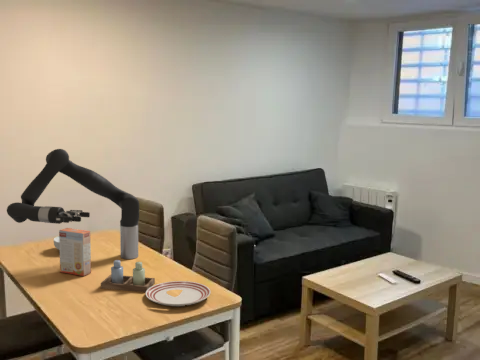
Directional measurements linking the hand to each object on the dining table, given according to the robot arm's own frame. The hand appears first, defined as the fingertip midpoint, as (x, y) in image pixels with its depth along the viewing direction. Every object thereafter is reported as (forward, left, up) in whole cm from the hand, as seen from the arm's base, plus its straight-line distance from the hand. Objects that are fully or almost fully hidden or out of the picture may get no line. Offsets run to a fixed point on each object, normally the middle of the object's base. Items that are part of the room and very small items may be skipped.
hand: (85, 217), depth 228 cm
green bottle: (+3, +26, -29) cm, 39 cm away
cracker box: (-9, -10, -30) cm, 33 cm away
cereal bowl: (-41, -29, -30) cm, 59 cm away
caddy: (+3, +21, -30) cm, 37 cm away
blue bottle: (+3, +16, -29) cm, 34 cm away
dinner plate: (+10, +46, -31) cm, 56 cm away
